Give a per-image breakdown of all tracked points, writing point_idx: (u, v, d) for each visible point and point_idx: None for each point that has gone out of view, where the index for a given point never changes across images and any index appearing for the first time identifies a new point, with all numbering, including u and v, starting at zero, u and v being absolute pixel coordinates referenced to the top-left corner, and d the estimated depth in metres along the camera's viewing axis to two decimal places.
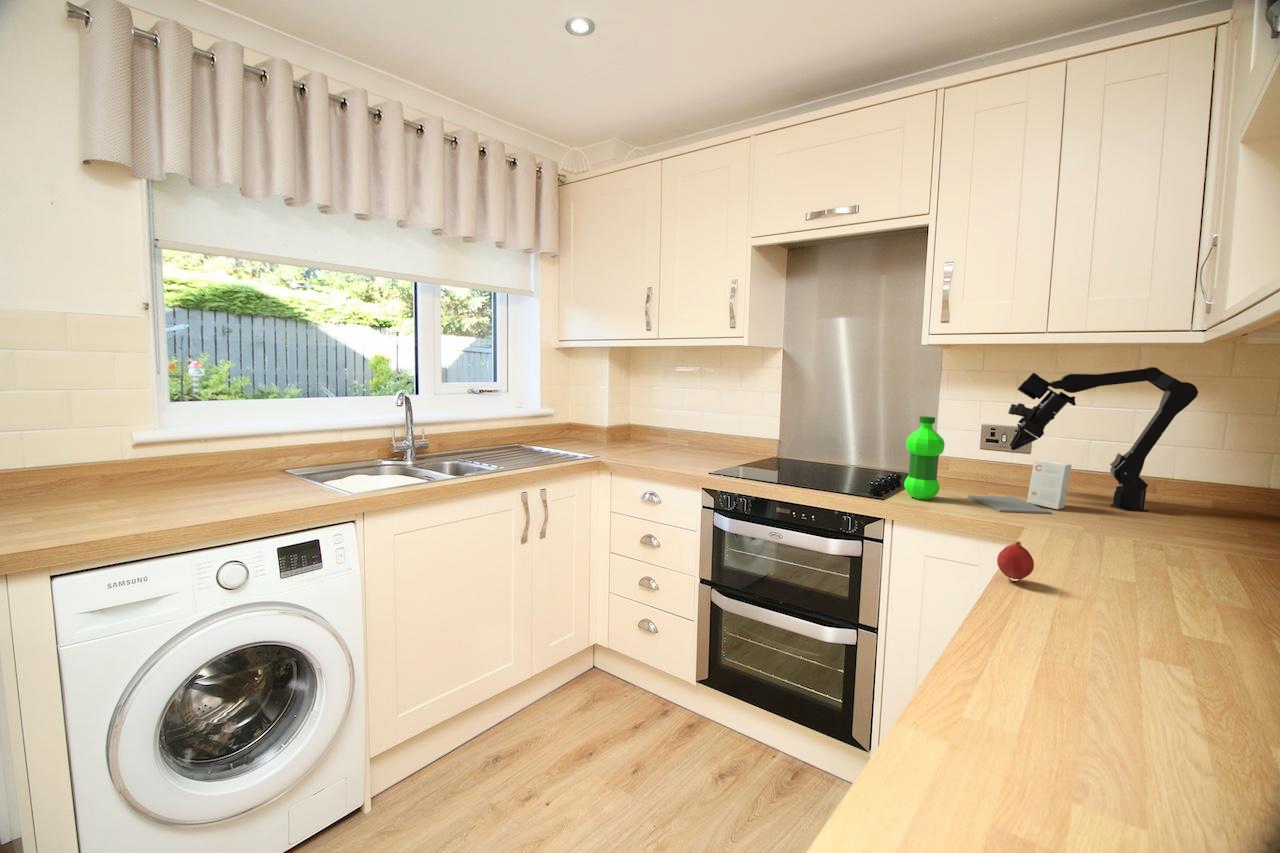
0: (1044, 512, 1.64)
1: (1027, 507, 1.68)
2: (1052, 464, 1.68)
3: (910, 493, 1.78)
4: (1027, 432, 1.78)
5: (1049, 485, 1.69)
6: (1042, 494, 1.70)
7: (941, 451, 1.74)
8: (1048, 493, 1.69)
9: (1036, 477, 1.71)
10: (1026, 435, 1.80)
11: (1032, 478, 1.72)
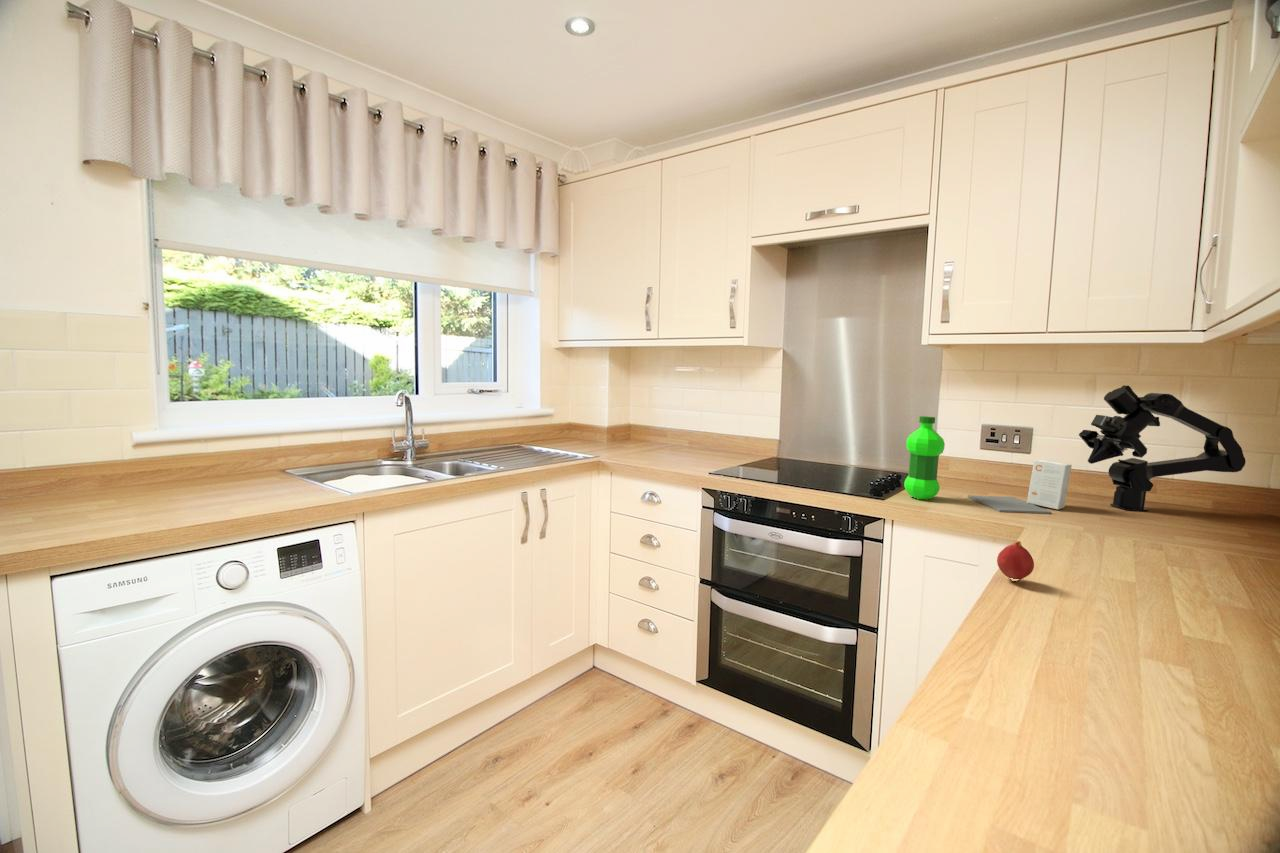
0: (1044, 512, 1.64)
1: (1027, 507, 1.68)
2: (1052, 464, 1.68)
3: (910, 493, 1.78)
4: (1117, 447, 1.67)
5: (1049, 485, 1.69)
6: (1042, 494, 1.70)
7: (941, 451, 1.74)
8: (1048, 493, 1.69)
9: (1036, 477, 1.71)
10: (1109, 449, 1.69)
11: (1032, 478, 1.72)
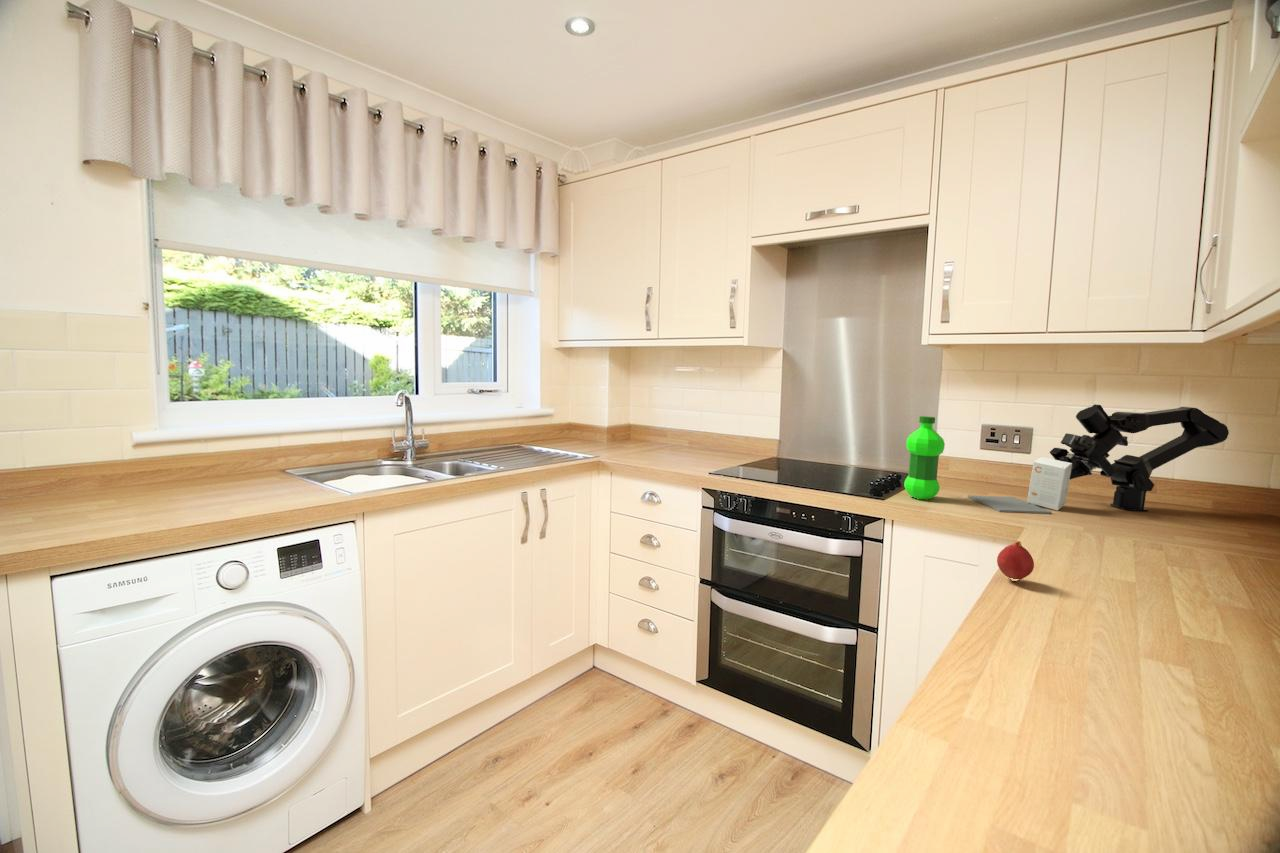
0: (1044, 512, 1.64)
1: (1027, 507, 1.68)
2: (1052, 466, 1.66)
3: (910, 493, 1.78)
4: (1085, 466, 1.67)
5: (1049, 487, 1.68)
6: (1042, 495, 1.69)
7: (941, 451, 1.74)
8: (1048, 494, 1.68)
9: (1036, 478, 1.70)
10: (1078, 468, 1.70)
11: (1032, 479, 1.71)
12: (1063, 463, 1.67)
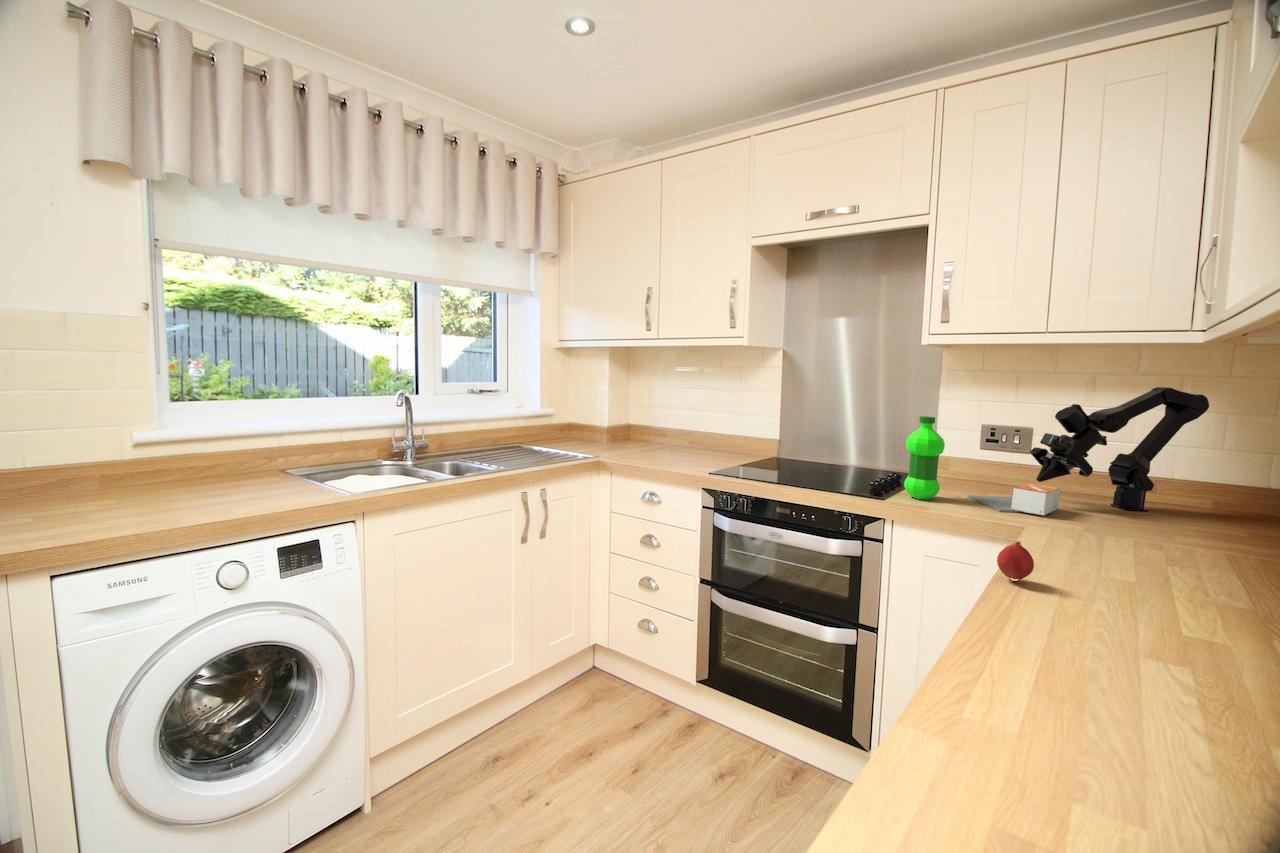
0: None
1: None
2: (1030, 512, 1.61)
3: (910, 493, 1.78)
4: (1064, 466, 1.67)
5: None
6: None
7: (941, 451, 1.74)
8: None
9: None
10: (1057, 468, 1.69)
11: None
12: (1038, 500, 1.60)
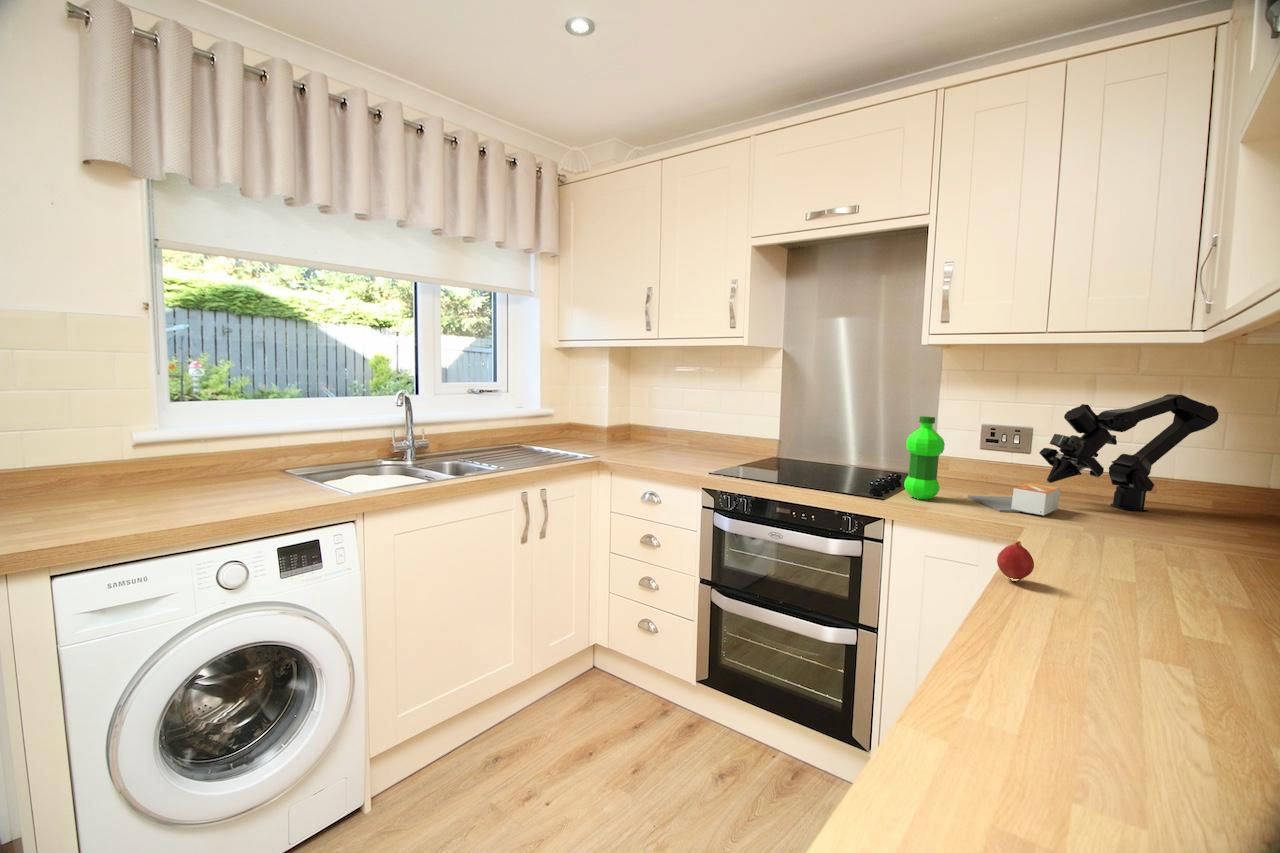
0: None
1: None
2: (1030, 512, 1.61)
3: (910, 493, 1.78)
4: (1074, 466, 1.67)
5: None
6: None
7: (941, 451, 1.74)
8: None
9: None
10: (1067, 469, 1.70)
11: None
12: (1038, 500, 1.60)
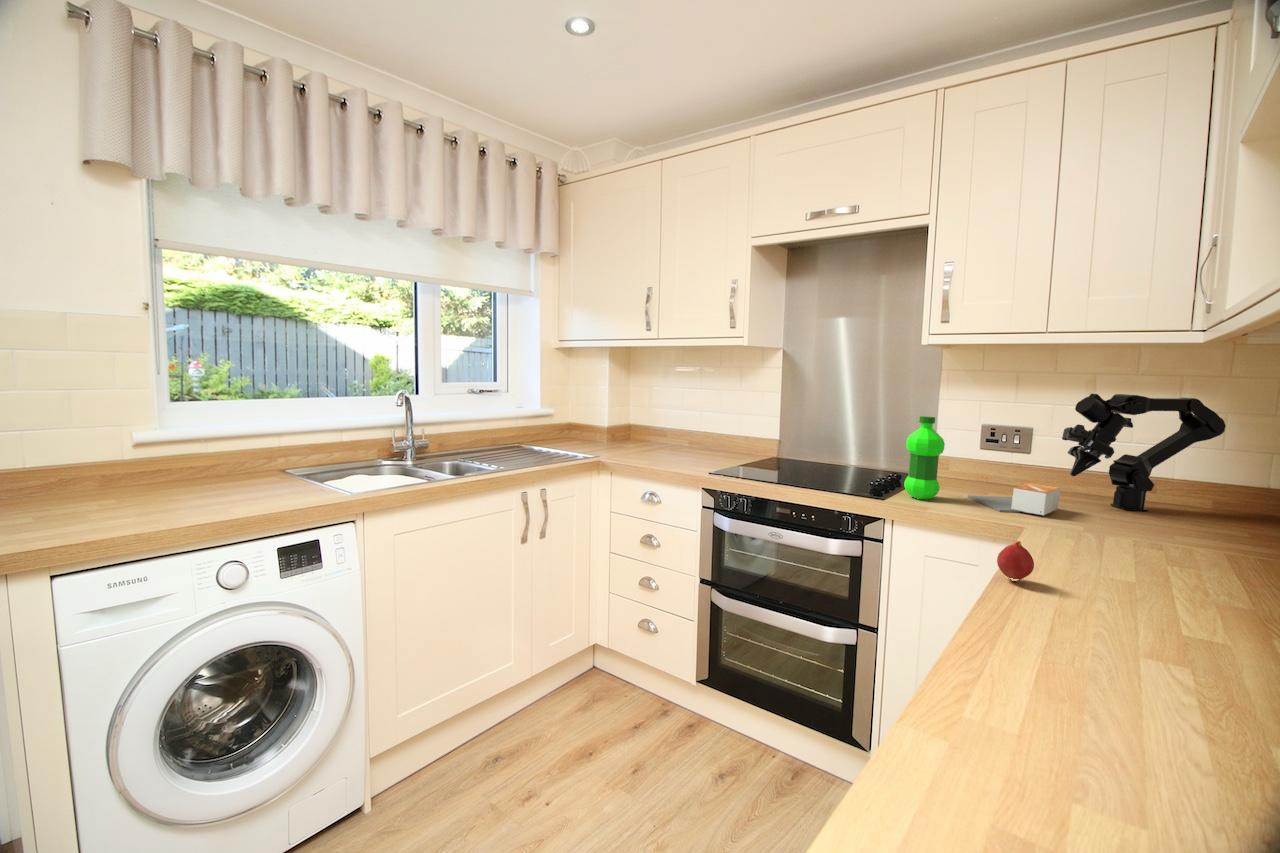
0: None
1: None
2: (1030, 512, 1.61)
3: (910, 493, 1.78)
4: (1089, 454, 1.68)
5: None
6: None
7: (941, 451, 1.74)
8: None
9: None
10: (1086, 459, 1.69)
11: None
12: (1038, 500, 1.60)
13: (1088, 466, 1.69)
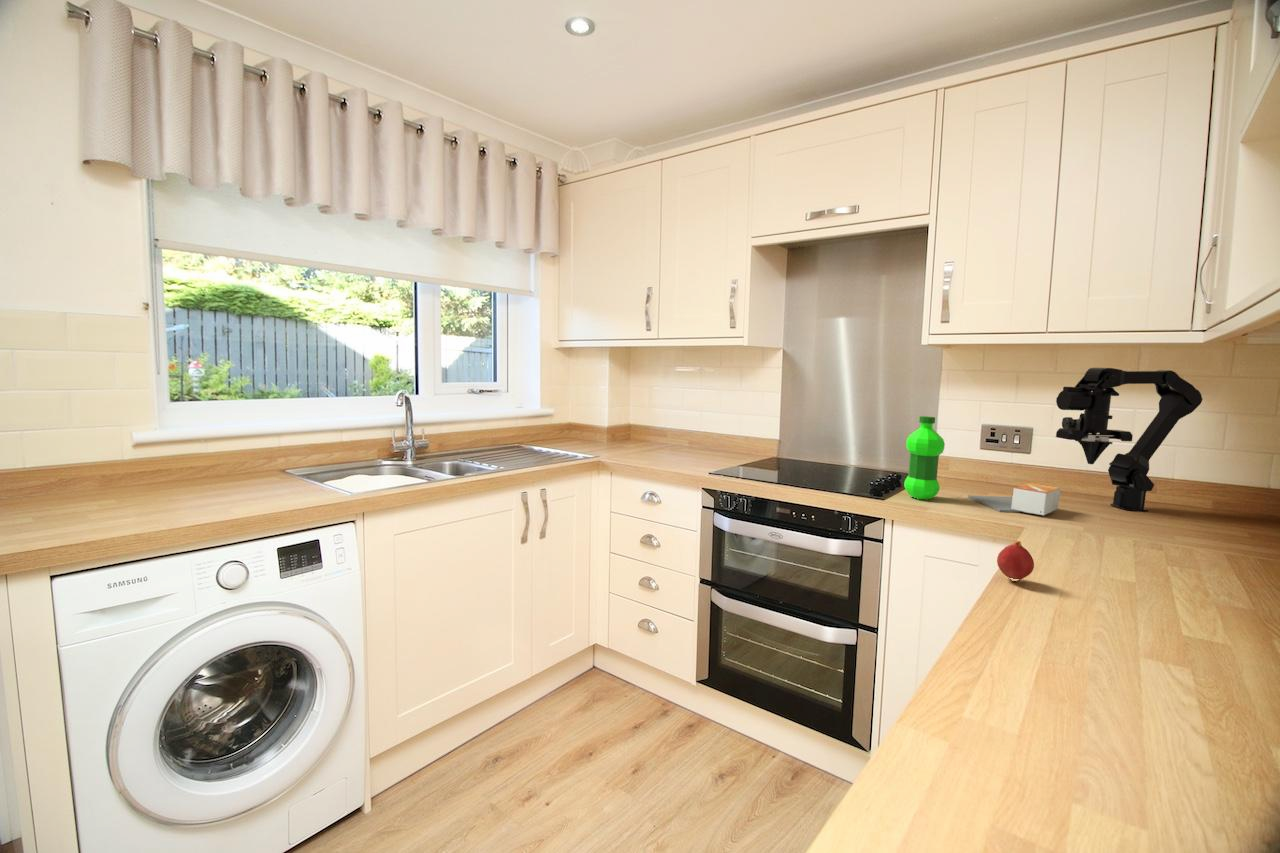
0: None
1: None
2: (1030, 512, 1.61)
3: (910, 493, 1.78)
4: (1080, 440, 1.71)
5: None
6: None
7: (941, 451, 1.74)
8: None
9: None
10: (1088, 444, 1.70)
11: None
12: (1038, 500, 1.60)
13: (1091, 450, 1.69)
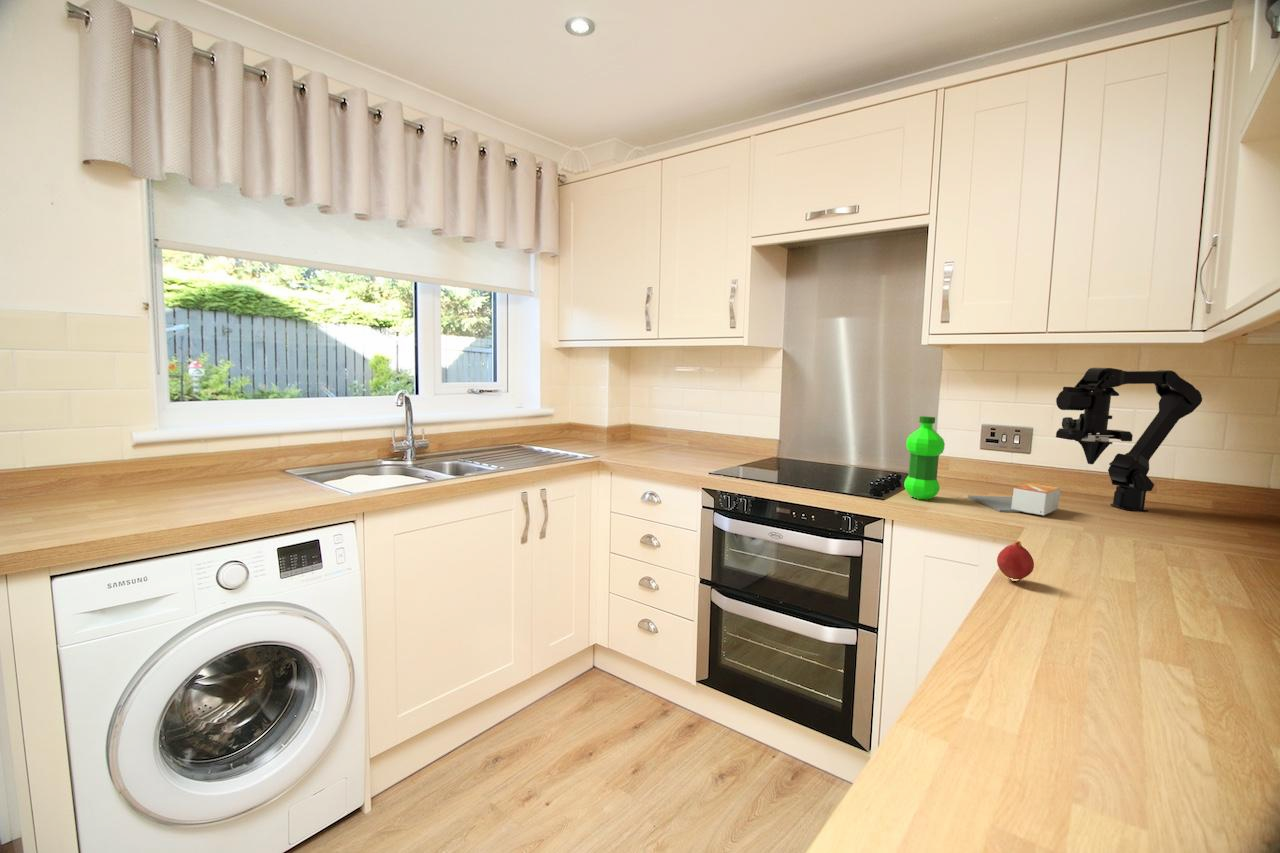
0: None
1: None
2: (1030, 512, 1.61)
3: (910, 493, 1.78)
4: (1080, 440, 1.71)
5: None
6: None
7: (941, 451, 1.74)
8: None
9: None
10: (1088, 444, 1.70)
11: None
12: (1038, 500, 1.60)
13: (1090, 450, 1.69)
